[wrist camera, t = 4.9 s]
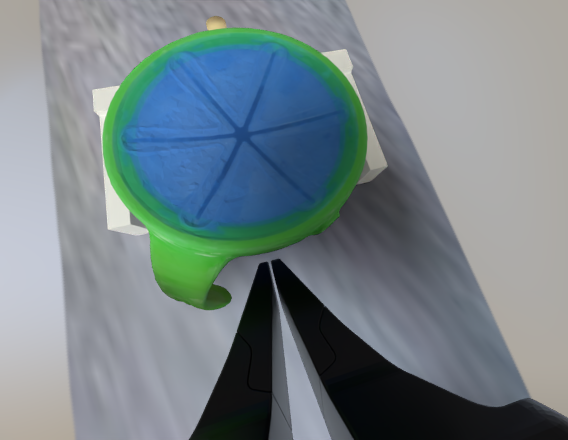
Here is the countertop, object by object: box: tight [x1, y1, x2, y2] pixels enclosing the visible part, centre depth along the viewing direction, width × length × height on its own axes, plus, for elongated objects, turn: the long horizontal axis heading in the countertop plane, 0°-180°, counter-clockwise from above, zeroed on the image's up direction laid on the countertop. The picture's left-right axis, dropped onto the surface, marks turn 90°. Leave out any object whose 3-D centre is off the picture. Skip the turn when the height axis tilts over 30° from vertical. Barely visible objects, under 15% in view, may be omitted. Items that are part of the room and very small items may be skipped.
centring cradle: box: [93, 16, 388, 236], centre depth 15 cm, size 11×21×7 cm, turn 104°
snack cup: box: [102, 28, 368, 310], centre depth 13 cm, size 16×10×10 cm
